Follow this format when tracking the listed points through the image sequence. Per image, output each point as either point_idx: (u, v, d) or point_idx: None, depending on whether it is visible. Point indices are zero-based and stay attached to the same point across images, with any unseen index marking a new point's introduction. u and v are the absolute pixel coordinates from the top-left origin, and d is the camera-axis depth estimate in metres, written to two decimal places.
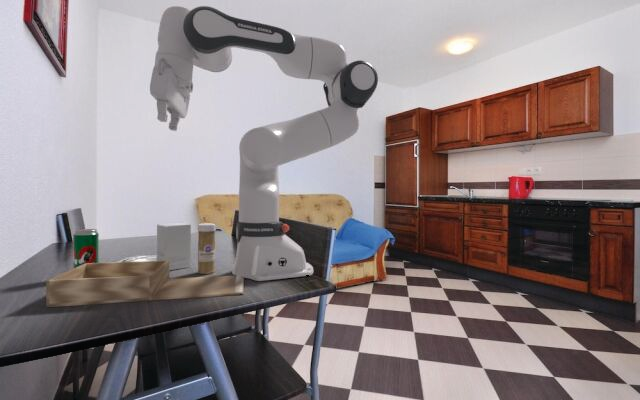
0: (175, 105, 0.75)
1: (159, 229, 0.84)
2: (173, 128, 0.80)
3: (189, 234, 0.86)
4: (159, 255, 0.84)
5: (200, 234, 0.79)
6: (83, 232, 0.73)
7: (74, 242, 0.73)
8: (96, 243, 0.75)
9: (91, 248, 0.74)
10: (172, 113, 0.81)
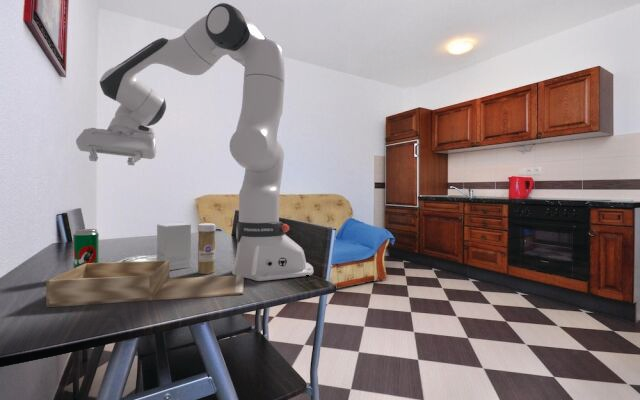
0: (109, 145, 0.87)
1: (159, 229, 0.84)
2: None
3: (189, 234, 0.86)
4: (159, 255, 0.84)
5: (200, 234, 0.79)
6: (83, 232, 0.73)
7: (74, 242, 0.73)
8: (96, 243, 0.75)
9: (91, 248, 0.74)
10: None
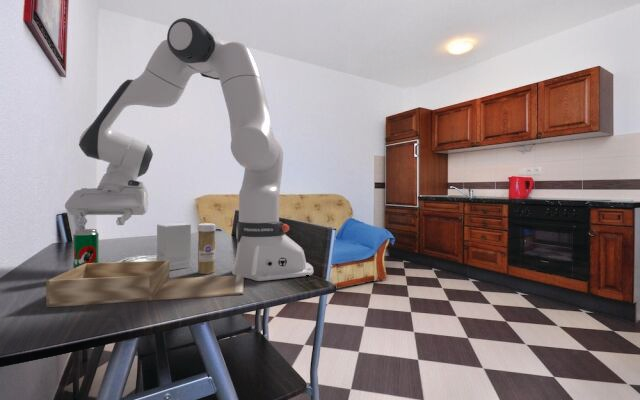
0: (97, 206, 0.84)
1: (159, 229, 0.84)
2: None
3: (189, 234, 0.86)
4: (159, 255, 0.84)
5: (200, 234, 0.79)
6: (83, 232, 0.73)
7: (74, 242, 0.73)
8: (96, 243, 0.75)
9: (91, 248, 0.74)
10: None
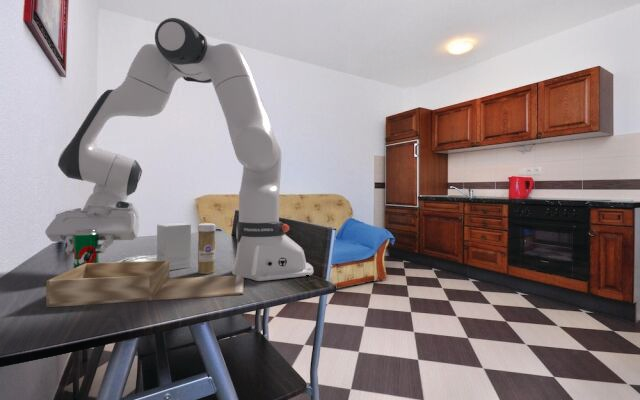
0: None
1: (159, 229, 0.84)
2: None
3: (189, 234, 0.86)
4: (159, 255, 0.84)
5: (200, 234, 0.79)
6: (83, 232, 0.73)
7: (74, 242, 0.73)
8: (96, 243, 0.75)
9: (91, 247, 0.74)
10: None
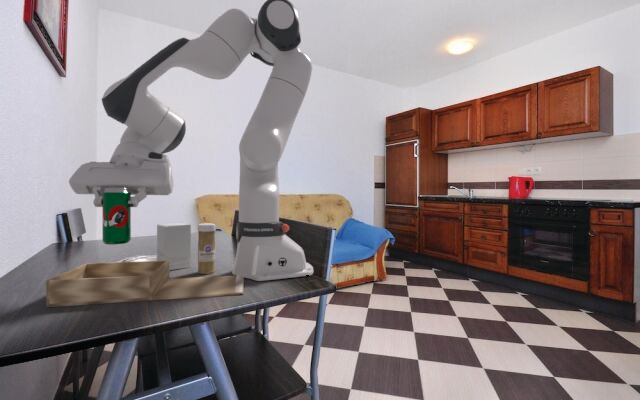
0: (111, 182, 0.65)
1: (159, 229, 0.84)
2: None
3: (189, 234, 0.86)
4: (159, 255, 0.84)
5: (200, 234, 0.79)
6: (114, 189, 0.62)
7: (104, 201, 0.62)
8: None
9: (123, 208, 0.63)
10: None
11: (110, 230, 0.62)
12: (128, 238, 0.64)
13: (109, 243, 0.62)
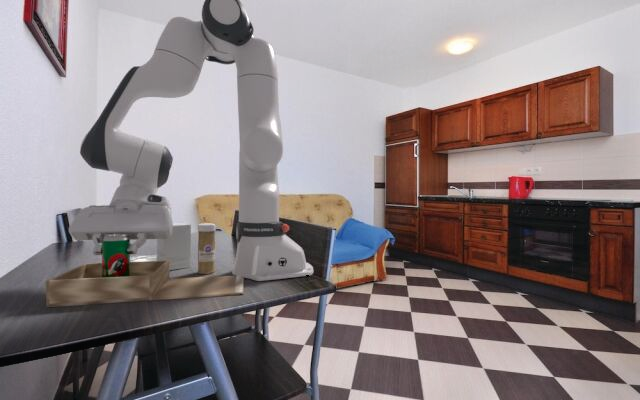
0: (111, 229, 0.65)
1: None
2: None
3: (189, 234, 0.86)
4: (159, 255, 0.84)
5: (200, 234, 0.79)
6: (113, 237, 0.62)
7: (103, 249, 0.62)
8: None
9: (122, 255, 0.63)
10: None
11: None
12: None
13: None
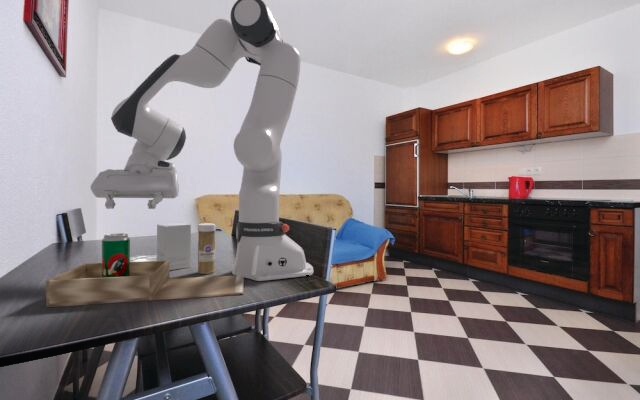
0: (126, 187, 0.76)
1: (159, 229, 0.84)
2: None
3: (189, 234, 0.86)
4: (159, 255, 0.84)
5: (200, 234, 0.79)
6: (113, 237, 0.62)
7: (103, 249, 0.62)
8: (127, 250, 0.64)
9: (122, 255, 0.63)
10: None
11: None
12: None
13: None
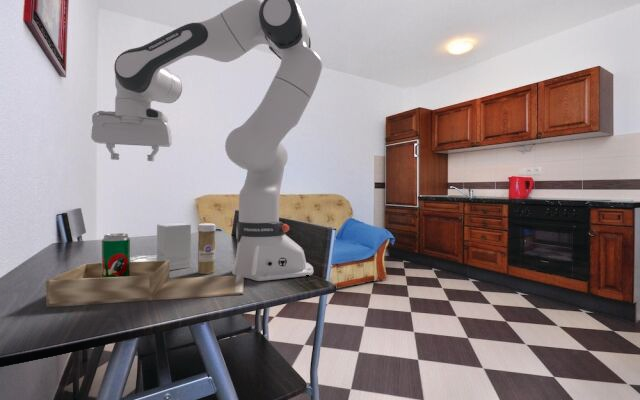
0: (124, 141, 0.85)
1: (159, 229, 0.84)
2: None
3: (189, 234, 0.86)
4: (159, 255, 0.84)
5: (200, 234, 0.79)
6: (113, 237, 0.62)
7: (103, 249, 0.62)
8: (127, 250, 0.64)
9: (122, 255, 0.63)
10: None
11: None
12: None
13: None
